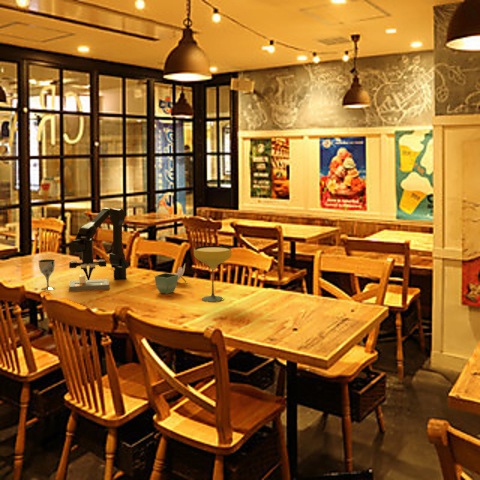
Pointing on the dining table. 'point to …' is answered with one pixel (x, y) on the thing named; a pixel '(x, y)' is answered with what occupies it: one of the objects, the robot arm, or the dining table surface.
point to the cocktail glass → (212, 262)
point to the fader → (82, 279)
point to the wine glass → (47, 270)
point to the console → (89, 285)
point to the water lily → (180, 273)
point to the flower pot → (166, 282)
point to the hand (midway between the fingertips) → (88, 279)
